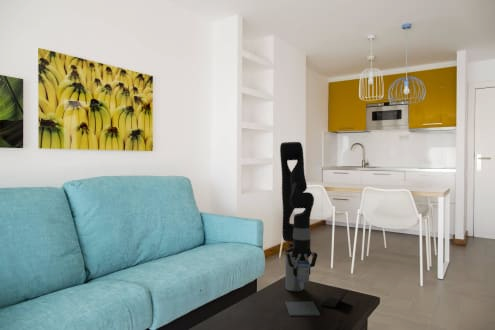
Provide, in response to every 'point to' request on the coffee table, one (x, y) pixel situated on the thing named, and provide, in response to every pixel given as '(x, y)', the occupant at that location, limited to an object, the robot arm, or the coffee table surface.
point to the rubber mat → (302, 309)
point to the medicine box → (302, 271)
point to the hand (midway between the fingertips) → (301, 275)
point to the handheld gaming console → (332, 302)
